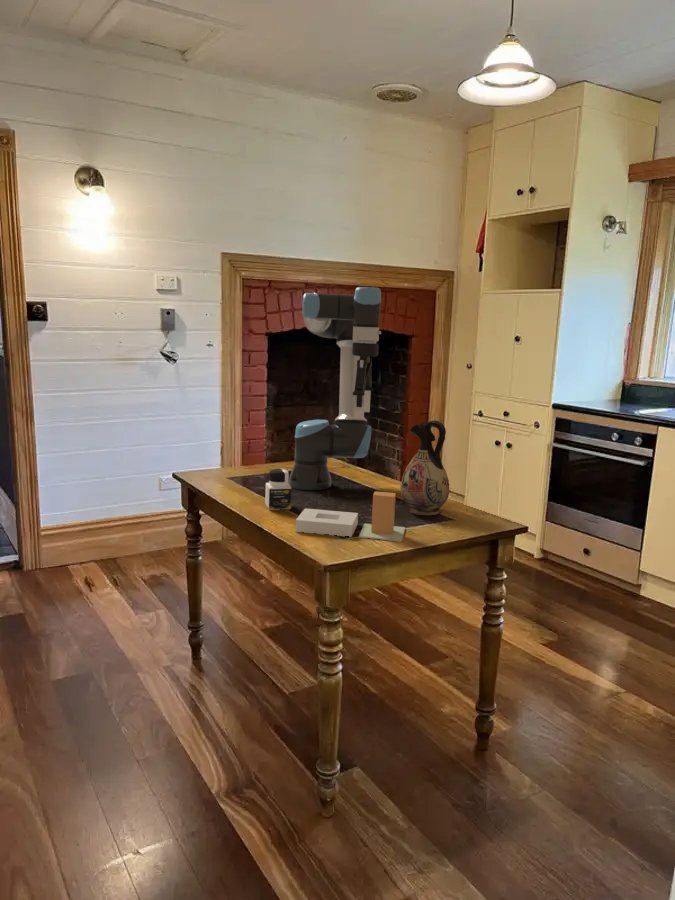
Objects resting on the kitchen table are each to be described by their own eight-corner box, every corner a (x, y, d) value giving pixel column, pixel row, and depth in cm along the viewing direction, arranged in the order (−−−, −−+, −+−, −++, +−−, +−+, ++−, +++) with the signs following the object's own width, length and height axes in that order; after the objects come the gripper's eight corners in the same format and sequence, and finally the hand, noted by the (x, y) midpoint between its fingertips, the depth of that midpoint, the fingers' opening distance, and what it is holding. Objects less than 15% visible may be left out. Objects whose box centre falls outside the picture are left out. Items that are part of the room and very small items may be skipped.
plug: (372, 528, 197) (374, 491, 195) (393, 530, 196) (395, 493, 194) (371, 532, 193) (373, 494, 191) (392, 534, 192) (394, 496, 190)
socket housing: (304, 519, 204) (304, 508, 204) (357, 524, 202) (358, 513, 201) (295, 531, 193) (295, 519, 192) (351, 537, 190) (352, 525, 189)
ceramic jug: (389, 511, 217) (394, 417, 211) (416, 502, 228) (422, 413, 222) (434, 523, 206) (441, 425, 200) (461, 513, 218) (468, 420, 212)
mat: (364, 525, 201) (364, 523, 201) (405, 528, 200) (405, 527, 199) (358, 537, 190) (358, 536, 190) (401, 541, 188) (402, 540, 188)
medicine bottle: (268, 510, 212) (269, 472, 210) (265, 504, 219) (265, 467, 217) (291, 509, 214) (292, 472, 212) (286, 503, 221) (287, 467, 219)
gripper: (373, 344, 185) (369, 422, 189) (383, 341, 209) (379, 410, 213) (346, 343, 186) (342, 420, 190) (358, 340, 210) (355, 408, 214)
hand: (362, 415), depth 202 cm, fingers open, 13 cm apart
